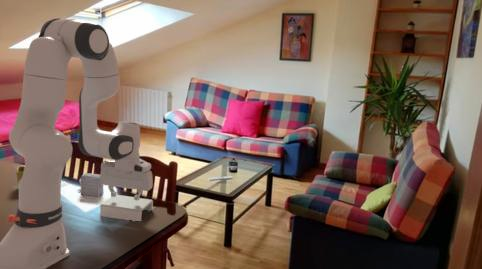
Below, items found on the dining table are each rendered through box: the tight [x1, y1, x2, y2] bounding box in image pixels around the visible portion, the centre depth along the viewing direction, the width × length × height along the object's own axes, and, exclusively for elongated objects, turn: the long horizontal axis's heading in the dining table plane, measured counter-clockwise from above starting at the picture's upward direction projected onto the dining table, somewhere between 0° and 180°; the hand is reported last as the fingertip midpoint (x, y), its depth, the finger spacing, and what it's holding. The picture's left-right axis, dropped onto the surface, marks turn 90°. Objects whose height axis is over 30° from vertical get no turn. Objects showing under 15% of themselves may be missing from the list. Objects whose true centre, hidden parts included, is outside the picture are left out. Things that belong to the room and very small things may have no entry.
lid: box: [99, 194, 154, 212], centre depth 151 cm, size 12×16×1 cm
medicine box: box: [80, 172, 104, 197], centre depth 168 cm, size 8×4×9 cm, turn 84°
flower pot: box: [16, 166, 25, 185], centre depth 168 cm, size 9×9×9 cm
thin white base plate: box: [99, 200, 154, 222], centre depth 152 cm, size 12×16×4 cm
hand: (125, 198), depth 150 cm, fingers open, 8 cm apart
